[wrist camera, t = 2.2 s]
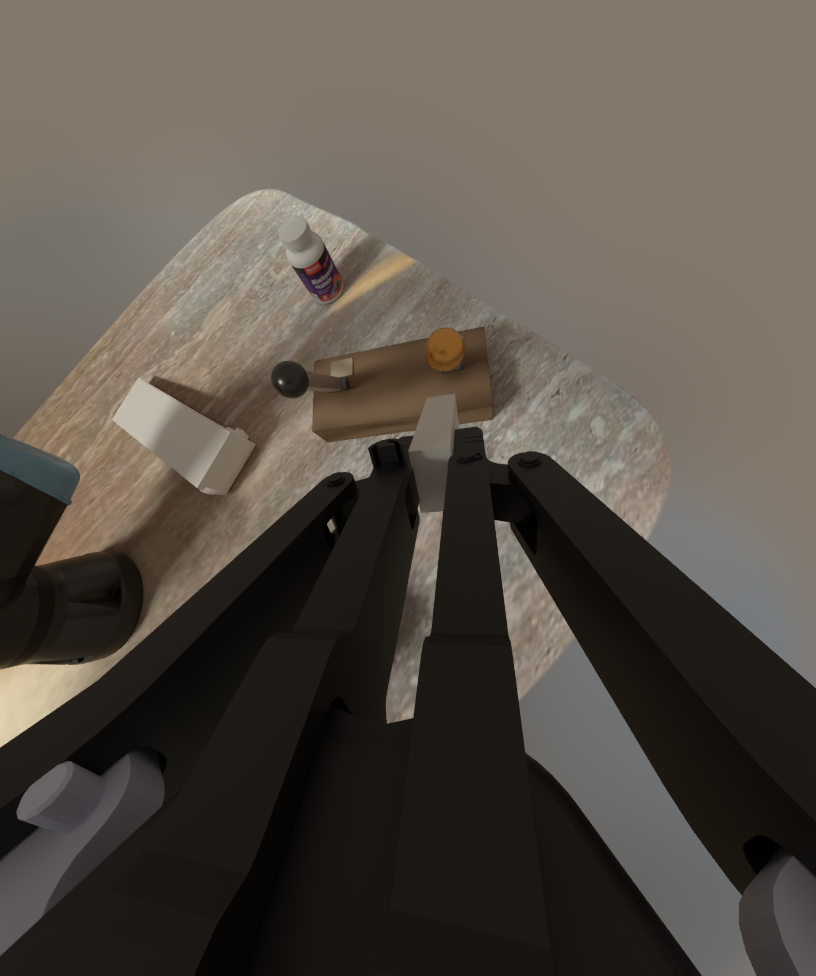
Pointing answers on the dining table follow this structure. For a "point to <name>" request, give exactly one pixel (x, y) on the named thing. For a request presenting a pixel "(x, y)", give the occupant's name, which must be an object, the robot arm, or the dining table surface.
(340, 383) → the black knob lever
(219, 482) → the wall bracket
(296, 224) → the pill bottle
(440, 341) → the orange knob lever
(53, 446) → the dining table surface
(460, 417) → the switch box
